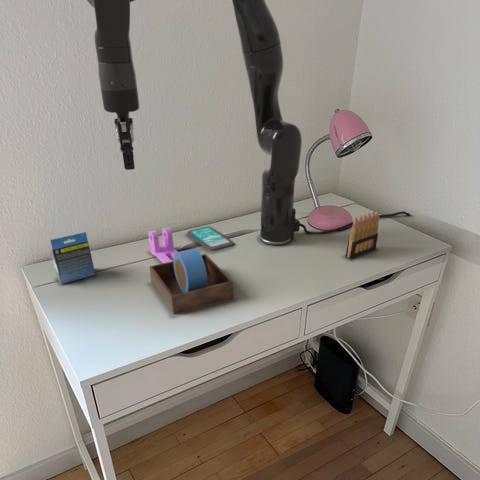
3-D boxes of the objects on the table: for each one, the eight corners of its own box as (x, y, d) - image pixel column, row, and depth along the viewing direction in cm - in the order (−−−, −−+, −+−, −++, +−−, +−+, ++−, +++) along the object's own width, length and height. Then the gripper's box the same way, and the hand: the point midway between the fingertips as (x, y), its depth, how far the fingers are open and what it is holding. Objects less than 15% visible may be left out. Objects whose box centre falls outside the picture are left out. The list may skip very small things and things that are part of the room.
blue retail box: (91, 269, 123) (82, 226, 116) (95, 275, 120) (86, 231, 113) (57, 278, 119) (45, 234, 112) (61, 285, 116) (49, 240, 109)
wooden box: (206, 270, 123) (205, 253, 120) (233, 299, 111) (233, 281, 108) (151, 283, 117) (149, 266, 114) (173, 315, 105) (171, 297, 102)
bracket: (150, 252, 131) (147, 229, 127) (168, 247, 134) (166, 225, 130) (170, 271, 122) (167, 247, 118) (189, 265, 125) (187, 242, 121)
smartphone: (210, 249, 130) (185, 231, 141) (210, 252, 131) (185, 234, 141) (235, 242, 134) (209, 225, 144) (235, 245, 135) (209, 228, 145)
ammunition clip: (350, 259, 128) (356, 218, 121) (345, 256, 129) (351, 216, 122) (375, 249, 133) (383, 209, 126) (370, 247, 134) (378, 207, 128)
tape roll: (192, 278, 118) (190, 242, 112) (208, 297, 111) (206, 259, 105) (174, 282, 116) (171, 246, 110) (189, 301, 109) (186, 263, 103)
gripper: (138, 90, 92) (147, 172, 101) (135, 80, 103) (144, 154, 113) (99, 91, 91) (112, 174, 100) (101, 81, 102) (113, 156, 111)
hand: (129, 163), depth 106 cm, fingers open, 8 cm apart
